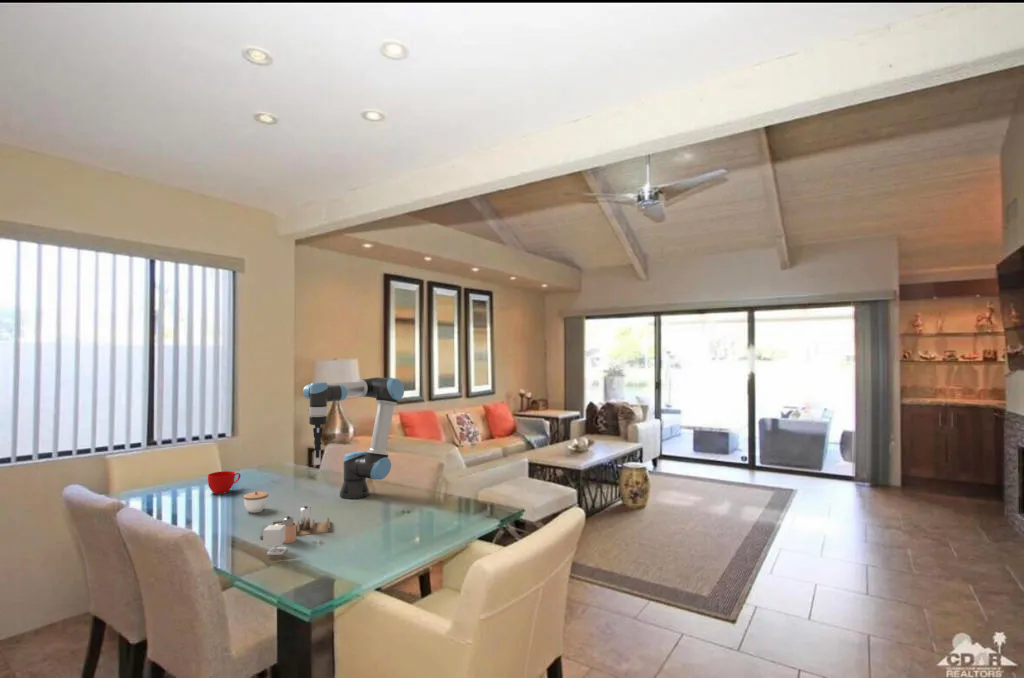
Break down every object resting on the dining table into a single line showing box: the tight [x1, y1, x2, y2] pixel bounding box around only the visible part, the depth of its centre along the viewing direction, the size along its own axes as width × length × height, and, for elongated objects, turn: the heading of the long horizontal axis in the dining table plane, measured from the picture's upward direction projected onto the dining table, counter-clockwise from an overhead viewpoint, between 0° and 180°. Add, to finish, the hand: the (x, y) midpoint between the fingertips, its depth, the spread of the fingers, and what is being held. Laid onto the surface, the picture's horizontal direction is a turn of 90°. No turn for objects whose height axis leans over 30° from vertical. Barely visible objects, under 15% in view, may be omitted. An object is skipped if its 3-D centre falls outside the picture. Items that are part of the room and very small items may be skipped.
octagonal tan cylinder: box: [280, 521, 297, 544], centre depth 213 cm, size 6×6×7 cm
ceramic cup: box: [207, 470, 241, 495], centre depth 284 cm, size 13×17×10 cm
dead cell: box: [282, 515, 294, 527], centre depth 213 cm, size 4×4×10 cm
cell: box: [300, 505, 312, 530], centre depth 226 cm, size 4×4×10 cm
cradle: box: [259, 519, 283, 540], centre depth 223 cm, size 13×15×3 cm
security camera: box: [262, 524, 288, 556], centre depth 200 cm, size 6×7×10 cm
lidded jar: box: [243, 490, 269, 514], centre depth 252 cm, size 11×11×9 cm
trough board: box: [296, 517, 331, 537], centre depth 227 cm, size 13×14×2 cm
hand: (317, 461), depth 241 cm, fingers open, 13 cm apart
